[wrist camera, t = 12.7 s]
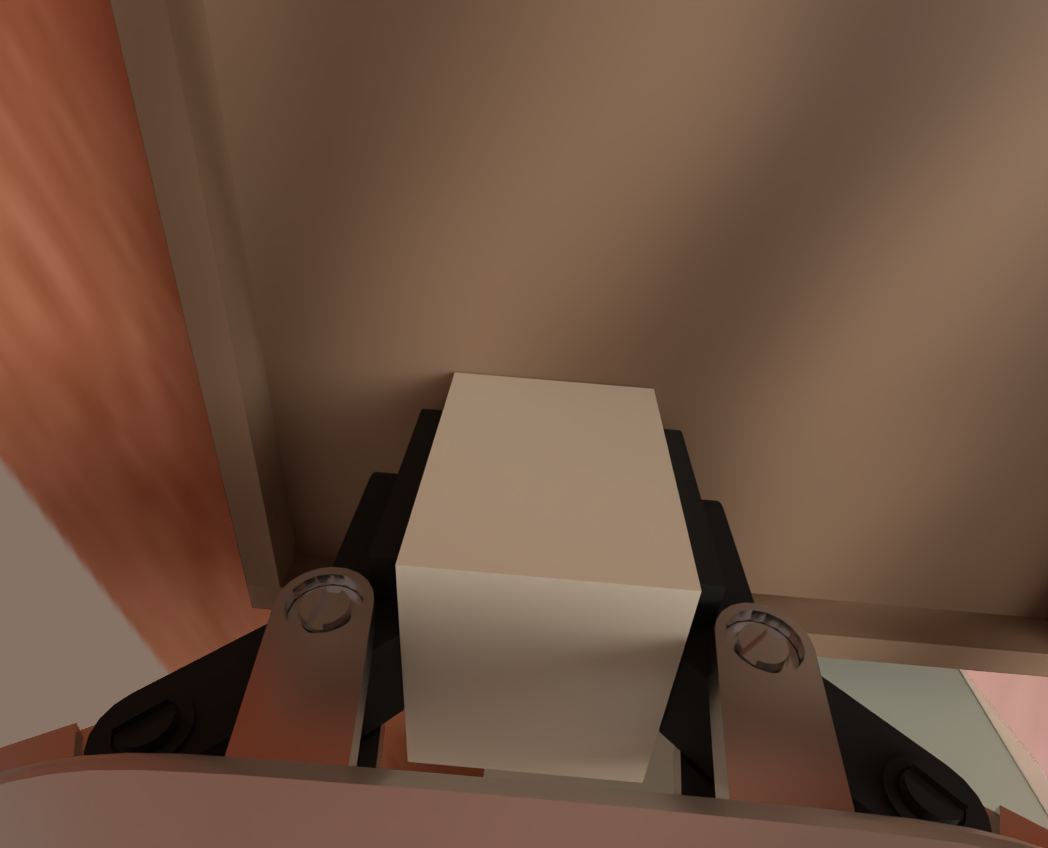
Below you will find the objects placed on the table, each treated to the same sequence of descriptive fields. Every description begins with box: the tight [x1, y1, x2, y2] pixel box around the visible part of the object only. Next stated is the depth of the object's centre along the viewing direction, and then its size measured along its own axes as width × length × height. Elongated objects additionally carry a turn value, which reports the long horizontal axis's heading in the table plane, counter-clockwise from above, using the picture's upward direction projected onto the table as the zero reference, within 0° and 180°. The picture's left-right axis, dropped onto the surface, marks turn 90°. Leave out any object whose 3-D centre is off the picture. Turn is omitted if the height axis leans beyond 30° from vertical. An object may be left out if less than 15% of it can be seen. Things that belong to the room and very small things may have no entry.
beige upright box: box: [395, 372, 701, 783], centre depth 11 cm, size 4×4×5 cm
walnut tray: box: [110, 0, 1048, 677], centre depth 11 cm, size 18×14×2 cm
